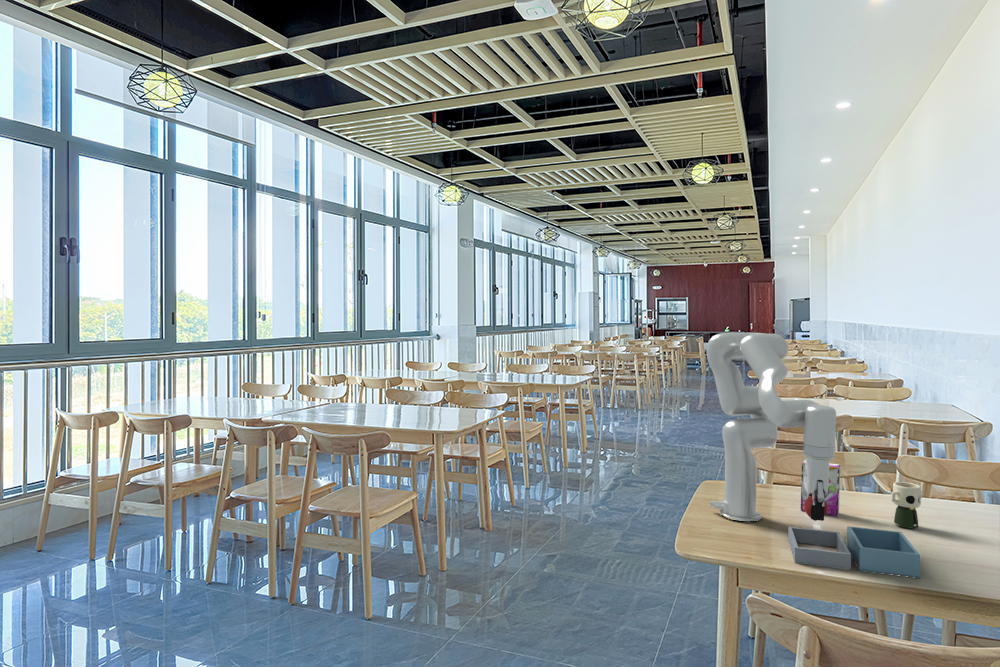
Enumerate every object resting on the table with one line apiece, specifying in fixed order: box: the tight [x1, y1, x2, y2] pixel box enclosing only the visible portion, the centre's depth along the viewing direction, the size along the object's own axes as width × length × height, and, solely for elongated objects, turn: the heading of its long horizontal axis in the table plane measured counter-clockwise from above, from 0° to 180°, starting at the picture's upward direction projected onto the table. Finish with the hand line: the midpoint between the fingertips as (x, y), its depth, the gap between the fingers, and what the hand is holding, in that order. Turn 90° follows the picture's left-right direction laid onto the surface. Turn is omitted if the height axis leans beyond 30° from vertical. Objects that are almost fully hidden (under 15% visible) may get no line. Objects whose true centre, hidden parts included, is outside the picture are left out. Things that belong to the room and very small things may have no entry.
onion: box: [804, 492, 828, 522], centre depth 166 cm, size 6×6×8 cm
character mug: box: [890, 481, 923, 529], centre depth 187 cm, size 11×7×13 cm, turn 103°
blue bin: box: [846, 525, 921, 579], centre depth 160 cm, size 13×17×6 cm
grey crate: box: [787, 526, 852, 571], centre depth 165 cm, size 13×17×4 cm
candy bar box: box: [800, 459, 841, 517], centre depth 200 cm, size 11×5×16 cm, turn 58°
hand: (815, 514), depth 166 cm, fingers closed on onion, 5 cm apart
